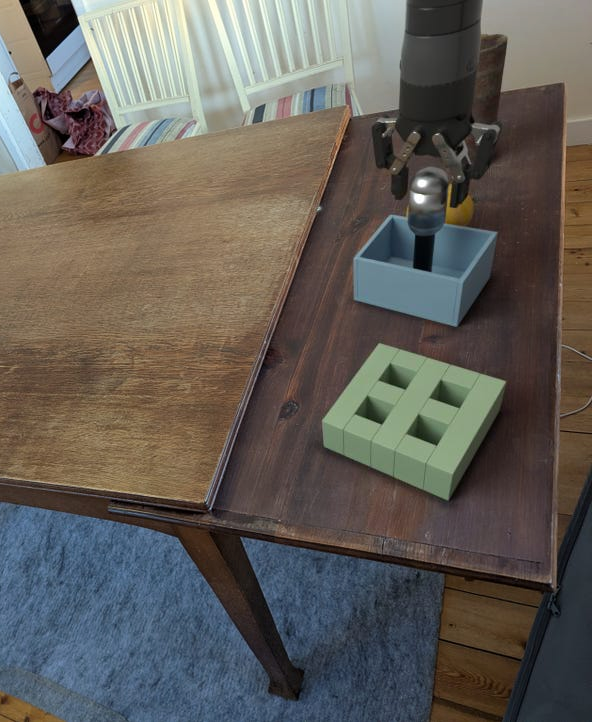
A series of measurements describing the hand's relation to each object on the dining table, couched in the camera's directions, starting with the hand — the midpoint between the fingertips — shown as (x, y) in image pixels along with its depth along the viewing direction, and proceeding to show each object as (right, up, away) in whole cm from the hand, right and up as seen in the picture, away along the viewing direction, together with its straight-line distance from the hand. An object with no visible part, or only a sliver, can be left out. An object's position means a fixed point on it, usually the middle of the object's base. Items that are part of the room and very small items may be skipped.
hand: (427, 200), depth 77 cm
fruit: (+10, -1, +17) cm, 20 cm away
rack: (-5, -29, -6) cm, 30 cm away
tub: (+4, -10, +10) cm, 15 cm away
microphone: (+4, -10, +9) cm, 14 cm away
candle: (+22, +15, +29) cm, 39 cm away
